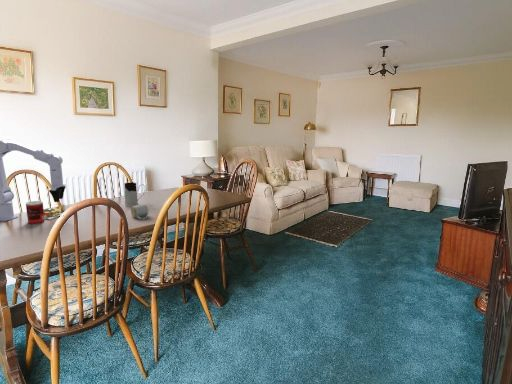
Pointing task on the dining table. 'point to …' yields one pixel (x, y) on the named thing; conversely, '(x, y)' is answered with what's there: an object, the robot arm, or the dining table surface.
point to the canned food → (35, 212)
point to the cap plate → (51, 215)
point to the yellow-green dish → (55, 210)
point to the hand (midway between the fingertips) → (58, 200)
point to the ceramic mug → (139, 211)
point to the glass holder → (131, 194)
